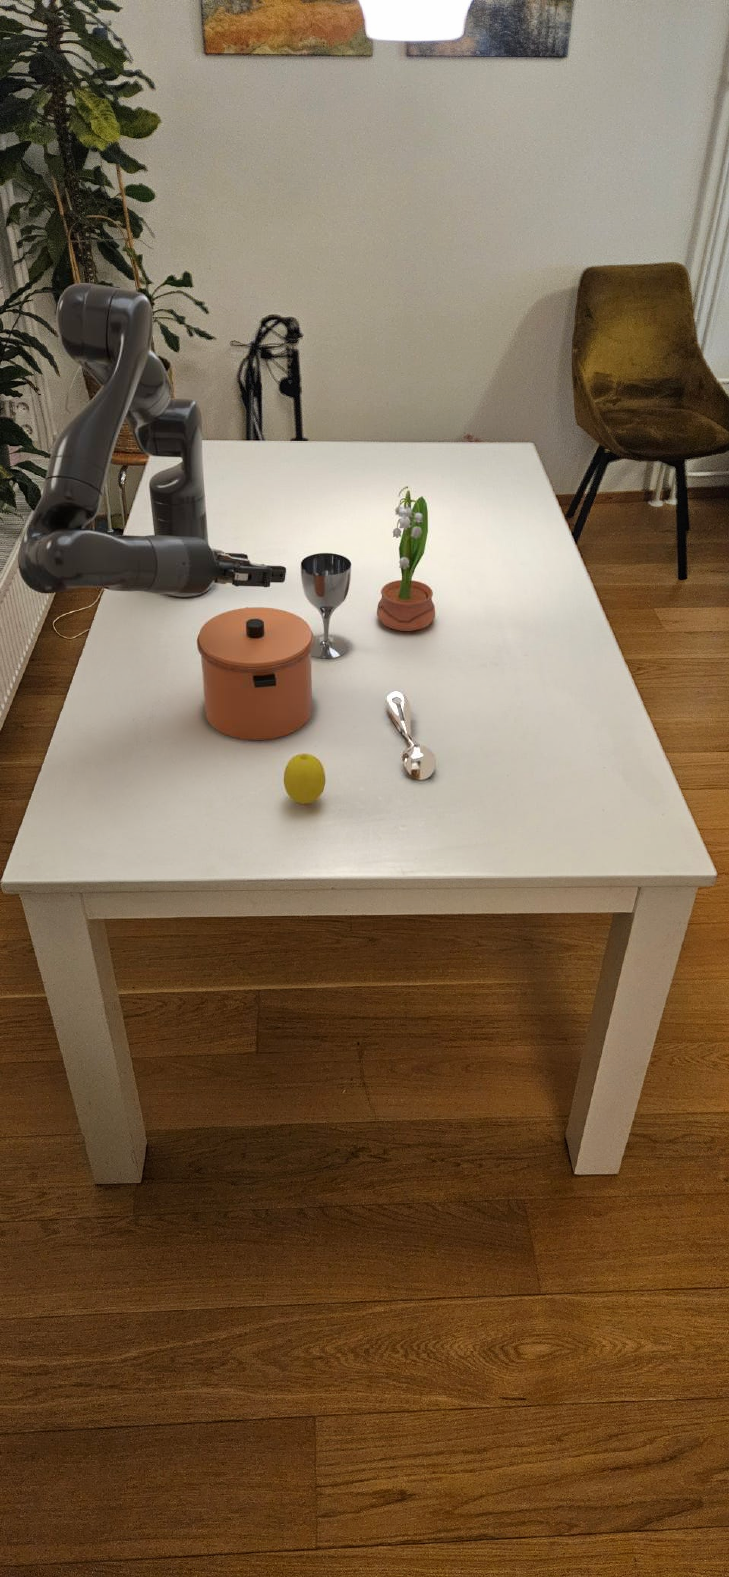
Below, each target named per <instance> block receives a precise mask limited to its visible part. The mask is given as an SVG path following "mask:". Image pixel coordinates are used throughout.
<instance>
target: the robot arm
mask: <svg viewBox="0 0 729 1577" xmlns="http://www.w3.org/2000/svg"><path fill="white" fill-rule="evenodd" d="M150 302H151V301H150V300H149V298H148V297H147V296H146V294H144V293H142V292H140V291H136V290H132V289H127V288H122V287H116V286H110V285H105V284H99V283H98V284H97V283H92V282H80V283H79V282H78V283H77V282H76V283H73V284H71V285H69V286H68V287H66V288H65V289H64V291H63V292H62V294H60V297H59V300H58V303H57V307H56V325H57V332H58V335H59V336H58V337H59V339H60V342H61V345H62V347H63V349H64V350H65V352H66V353H67V355H68V356H69V357H70V358H71V359H72V360H73V361H74V362H75V363H77V364H78V365H79V366H81V367H82V368H83V369H84V370H85V371H86V372H87V373H88V374H89V375H90V376H91V377H92V378H93V379H94V381H95V382H96V383H97V384H98V385H99V387H100V389H99V390H98V391H97V393H96V394H95V395H94V396H93V398H91V399H90V401H89V402H88V403H87V404H85V406H84V407H82V409H80V411H78V412H77V413H76V415H74V416H73V417H72V418H71V420H69V421H68V422H67V424H66V425H65V426H64V428H63V429H62V430H61V431H60V433H59V434H58V436H57V438H56V440H55V442H54V444H53V446H52V448H51V449H52V450H51V453H50V457H49V461H48V466H47V469H46V473H45V478H44V484H43V488H42V489H43V490H42V494H41V496H40V499H39V501H38V503H37V505H36V506H35V508H34V510H33V513H32V515H31V517H30V520H29V521H28V524H27V526H26V529H25V531H24V533H23V536H22V539H21V542H20V544H19V547H18V548H19V549H18V556H17V563H18V564H17V565H18V572H19V574H20V576H21V579H22V581H23V582H24V584H26V586H27V587H29V588H30V589H31V590H32V591H34V592H37V593H40V594H47V595H48V594H49V595H50V594H56V593H59V592H60V593H61V592H64V591H67V590H72V589H76V588H88V587H89V588H90V587H92V588H93V587H97V588H98V587H99V588H101V587H102V588H104V589H106V590H109V591H114V592H137V593H138V592H139V593H141V592H142V593H149V594H155V595H156V594H157V595H166V596H170V597H174V598H192V597H197V596H200V595H204V594H205V593H207V592H208V591H209V590H211V588H212V586H213V583H215V584H221V585H226V584H231V585H232V586H234V587H256V588H257V587H258V588H259V587H261V588H270V587H271V583H275V584H276V583H277V584H279V583H282V584H283V583H284V582H285V581H286V574H287V568H286V567H285V566H284V565H267V564H264V563H261V564H260V563H253V562H251V560H250V559H249V556H248V554H245V553H240V552H225V551H223V550H222V549H216V548H212V547H211V546H210V544H209V532H208V519H207V504H206V492H205V477H204V476H205V475H204V461H203V421H202V413H201V408H200V406H199V404H198V402H197V401H196V400H195V399H192V398H184V397H183V398H181V397H180V398H179V397H173V398H172V396H173V387H172V381H171V378H170V375H169V374H168V371H167V370H166V368H165V366H164V364H163V362H162V360H161V359H160V358H159V356H158V355H157V354H156V353H155V352H154V351H153V350H152V349H151V346H152V341H153V334H154V315H153V314H154V313H153V309H152V305H151V303H150ZM125 422H126V425H127V426H128V429H129V431H130V433H131V436H132V438H133V440H134V442H135V444H136V446H137V448H138V449H139V451H140V452H141V453H142V454H144V455H146V456H149V457H155V458H180V459H181V460H182V461H181V462H179V463H178V464H176V465H174V466H172V467H169V468H166V469H163V470H161V471H158V472H156V473H155V474H154V475H152V476H151V478H150V479H149V483H148V488H149V489H148V490H149V497H150V498H149V499H150V508H151V516H152V517H151V518H152V526H153V534H151V535H129V534H128V535H127V534H126V535H125V534H109V533H106V532H102V531H97V530H93V529H87V528H85V527H86V526H87V525H88V524H90V523H91V522H92V521H93V520H95V519H96V517H97V516H98V514H99V512H100V509H101V506H102V502H103V497H104V493H105V489H106V484H107V481H108V474H109V471H110V465H111V462H112V457H113V454H114V451H115V448H116V445H117V441H118V438H119V435H120V432H121V431H122V428H123V425H124V423H125Z"/></svg>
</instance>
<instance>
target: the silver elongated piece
mask: <svg viewBox="0 0 729 1577" xmlns="http://www.w3.org/2000/svg"><path fill="white" fill-rule="evenodd" d="M394 699H399V700H400V701H401V702H400V708H401V712H402V716H403V720H401V718H400V714H399V711H398V710H399V709H398V706H397V704H396V703H394V702H393V700H394ZM385 703H386V709H387V711H388V714H389V716H390V718H391V721H392V722H393V724H394V726H395V727H396V729H397V730H398V731H399V732H400V734H402V735H403V736H404V737H405V738H406V740H407V746H406V747H405V748H404V750H403V751H402V753H401V760H402V763H403V765H404V768H405V769H406V771H407V773H408V774H409V775H410V776H411V777H412V778H414V779H416V780H419V781H421V780H422V781H423V780H426V779H428V778H429V777H431V776H432V774H433V773H434V771H435V768H436V765H437V758H436V756H435V753H434V752H433V751H432V750H431V749H429V748H428V747H426V746H425V745H422V744H420V743H419V742H418V741H417V740H415V739H414V737H413V735H412V731H411V728H412V727H411V723H412V722H411V718H412V716H411V705H410V702H409V699H408V697H407V696H406V694H404V693H403V692H399V691H393V692H391V693H390V694H388V695H387V697H386V700H385Z"/></svg>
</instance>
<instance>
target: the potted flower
mask: <svg viewBox="0 0 729 1577" xmlns="http://www.w3.org/2000/svg"><path fill="white" fill-rule="evenodd" d="M408 488H409V485H407V486H404V487H403V488H402V489H401V490H400V491H399V494H398V496H400V495H401V494H402V492H403V491H404V490H406V489H408ZM412 503H414V504H413V507H412ZM402 504H403V506H401V505H402ZM394 512H395V514H394V515H395V516H398V517H399V518H398V520H397V523H396V527H395V528H394V529H393V530H392V534H393V535H392V538H396V539H399V537H400V542H399V546H398V556H399V561H398V563H399V566H398V568H400V572H401V579H398V580H394V581H390V582H388V583H386V584H385V585H383V587H382V588H381V590H380V595H381V598H380V599H379V601H378V603H377V608H376V616H377V618H378V619H379V620H380V622H381V624H383V625H384V626H386V627H388V628H390V629H393V630H395V631H401V632H412V631H419V630H422V629H424V628H426V627H428V626H429V625H430V624H431V623H432V621H433V620H435V617H436V608H435V607H436V606H435V604H434V602H433V599H432V598H433V595H434V592H433V589H432V588H431V587H430V586H429V585H428V584H426V583H424V582H421V581H417V580H412V578H413V576H414V573H415V570H416V568H417V566H418V565H419V563H420V561H421V559H422V558H423V556H424V554H425V550H426V544H427V540H428V539H427V538H428V532H429V513H428V512H429V511H428V504H427V501H426V499H425V498H424V496H423V495H421V496H420V497H418V498H417V499H412V498H411V491H410V490H407V491H406V493H405V496H404V497H403V498H401V499H400V500H399V504H398V506H396V507H395V509H394ZM401 529H403V530H401ZM401 533H402V534H401Z"/></svg>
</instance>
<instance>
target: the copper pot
mask: <svg viewBox="0 0 729 1577" xmlns="http://www.w3.org/2000/svg"><path fill="white" fill-rule="evenodd" d="M314 638H315V636H314V633H313V630H312V629H311V627H310V625H309V624H308V622H307V621H305V619H304V618H302V617H300V616H299V615H297V614H294V613H292V612H291V611H287V610H283V609H279V608H272V607H263V606H261V607H260V606H259V607H258V606H257V607H256V606H255V607H253V606H252V607H243V608H235V609H232V610H228V611H225V612H222V613H220V614H217V615H215V616H213V617H212V618H211V619H208V620H207V621H206V622H204V624H203V625H202V627H201V628H200V630H199V632H198V635H197V638H196V645H197V646H196V647H197V650H198V653H199V654H200V659H201V672H202V673H201V674H202V683H203V684H202V685H203V697H204V708H205V709H204V711H205V717H206V720H207V721H208V723H209V725H211V727H212V728H214V729H215V730H216V731H218V732H220V734H223V735H225V736H228V737H231V738H236V739H239V740H247V741H267V740H274V739H277V738H282V737H286V736H288V735H290V734H292V733H295V732H296V731H298V730H300V729H301V728H303V727H304V726H305V725H306V724H307V723H308V722H309V720H310V718H311V716H312V712H313V688H312V687H313V686H312V685H313V684H312V682H313V680H312V678H313V676H312V656H311V651H312V649H313V646H314Z"/></svg>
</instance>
